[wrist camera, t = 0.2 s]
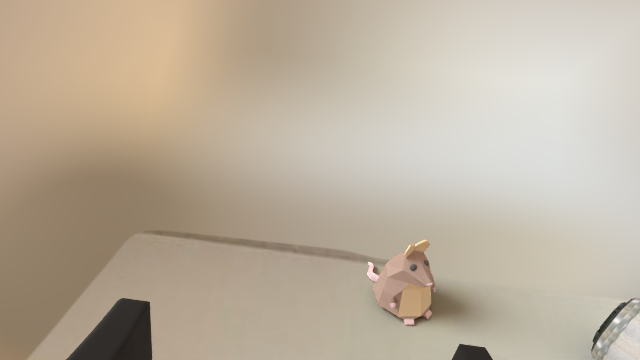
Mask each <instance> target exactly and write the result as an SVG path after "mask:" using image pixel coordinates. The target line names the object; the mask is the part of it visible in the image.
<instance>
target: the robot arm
mask: <svg viewBox="0 0 640 360" xmlns="http://www.w3.org/2000/svg"><path fill="white" fill-rule="evenodd" d="M66 360H152V343H151V321H150V302H147V301H140V300H132V299H125V298H122V299H120V300H118V301H117V302H116V304H115V305H114V306H113V307H112V309H111V310H110V311H109V312H108V313H107V315H106V316H105V317H104V318H103V319H102V320H101V322H100V323H99V324H98V325H97V326H96V327H95V329H94V330H93V331H92V332H91V333H90V334H89V335H88V336H87V338H86V339H85V340H84V341H83V342H82V343H81V344H80V345H79V346H78V348H77V349H76V350H75V351H74V352H73V353H72V354H71V355H70V356H69V357H68V358H67V359H66ZM452 360H493V359H492V358H491V356H490V354H489V353H488V351H487V350H486V348H485V347H478V346H470V345H463V344H459V346H458V348H457V350H456V352H455V354H454V356H453V358H452Z"/></svg>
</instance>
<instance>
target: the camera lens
mask: <svg viewBox="0 0 640 360" xmlns="http://www.w3.org/2000/svg"><path fill="white" fill-rule="evenodd" d="M593 343H594V344H593V347H592V356H593V358H594V360H640V298H634V299H631V300H629V301H628V302H627V303H625V302H624V303H621V304H620V305H619V306H618V307H617V308H616V309H615V310H614V311H613V312H612V313H611V314H610V316H609V317H608V318H607V319H606V320H605V322H604V323H603V324H602V325H601V326H600V329H599V330H598V331H597V332H596V334H595V336H594V339H593Z"/></svg>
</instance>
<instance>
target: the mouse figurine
mask: <svg viewBox="0 0 640 360" xmlns="http://www.w3.org/2000/svg"><path fill="white" fill-rule="evenodd" d="M429 245H430V244H429V243H428V241H427V239H426V240H423V241H421V242H419V243H417V244H416V245H415V244H410V245H409V247H408V248H407V250H406V252H404V253H400V254H397V255H396V256H395V257H393V258H391V259H390V260H389V261H388V262H387V263H386V265H385V267H384V269H383V271H382V272H381V274H380V276H379V275H377V274H375V273H374V272H373V268H374V265H373V264H372V263H370V262H368V264H369V265H370V266H369V269H368V273H367V275H368V277H369V278H370V279H371V280H373V281H375V282H376V283H375V285H374V287H373V289H374V293H375V296H376V300H377V303H378V305H380V306H381V307H383V308H385V309H386V310H388V311H390V312H391V313H393V314H394V315H396V316H398V317H399V318H401V319H403V320H404V323H405V325H414V319H415V318H418V317H420V316H423V317H425V318H426V319H429V318H430V316H431V315H432V312H431V311H430V310H429V308H430V306H431V288H432V289H433V291H434V292H435V284H434V280H433V276H432V274H431V272H430V266H429V262H428V260H427V258H426V256H425V254H424V251H425V250H426V249H427V248H428V247H429Z"/></svg>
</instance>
